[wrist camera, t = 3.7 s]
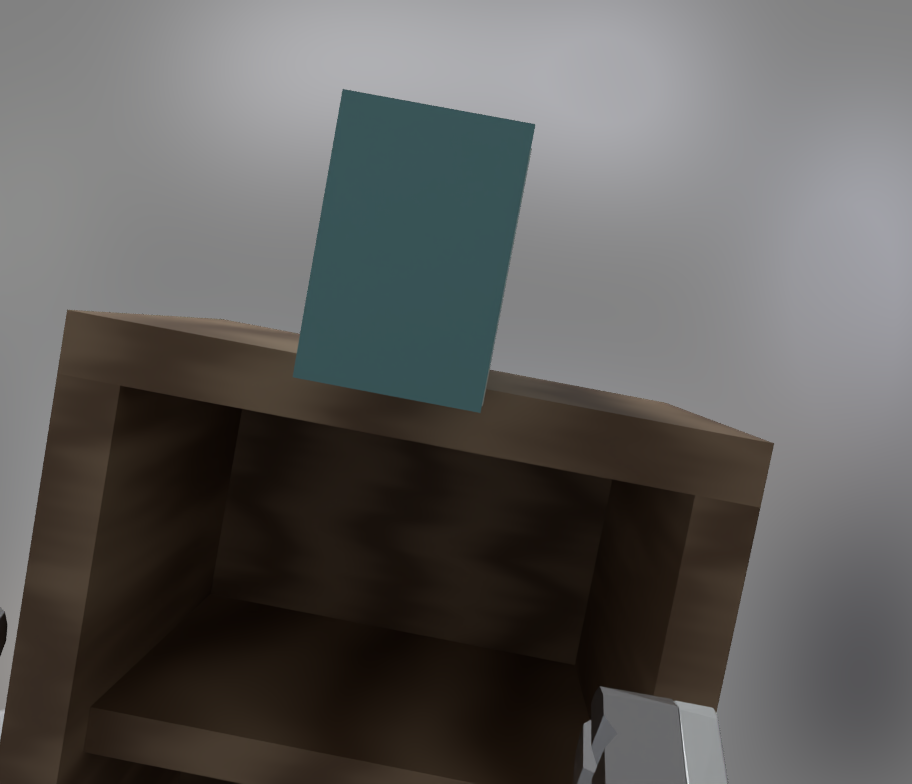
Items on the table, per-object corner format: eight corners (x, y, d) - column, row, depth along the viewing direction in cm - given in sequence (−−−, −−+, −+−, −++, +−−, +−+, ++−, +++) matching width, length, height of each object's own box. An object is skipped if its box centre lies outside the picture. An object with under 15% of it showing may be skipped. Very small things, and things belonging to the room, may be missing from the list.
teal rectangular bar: (484, 370, 42) (507, 244, 42) (482, 416, 18) (538, 122, 18) (400, 354, 42) (423, 228, 42) (289, 379, 18) (341, 86, 18)
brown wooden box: (562, 906, 44) (665, 402, 42) (605, 1228, 28) (774, 443, 27) (138, 821, 45) (222, 319, 43) (-54, 1090, 29) (67, 309, 27)
